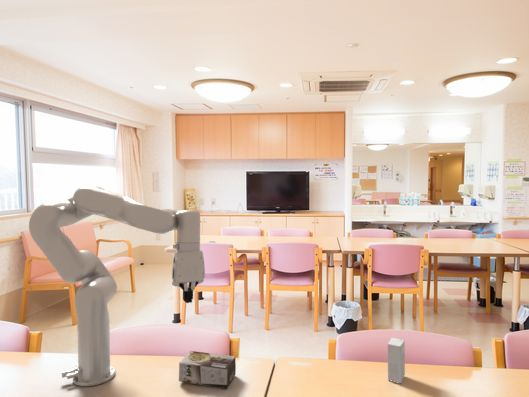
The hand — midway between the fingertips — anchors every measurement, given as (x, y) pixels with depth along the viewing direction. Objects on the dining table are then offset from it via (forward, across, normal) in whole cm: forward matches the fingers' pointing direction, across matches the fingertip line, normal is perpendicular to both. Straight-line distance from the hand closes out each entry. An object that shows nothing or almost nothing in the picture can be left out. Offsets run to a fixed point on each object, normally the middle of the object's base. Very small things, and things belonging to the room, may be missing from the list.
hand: (187, 301), depth 124 cm
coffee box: (+20, -2, -2) cm, 20 cm away
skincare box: (+23, +54, -42) cm, 72 cm away
